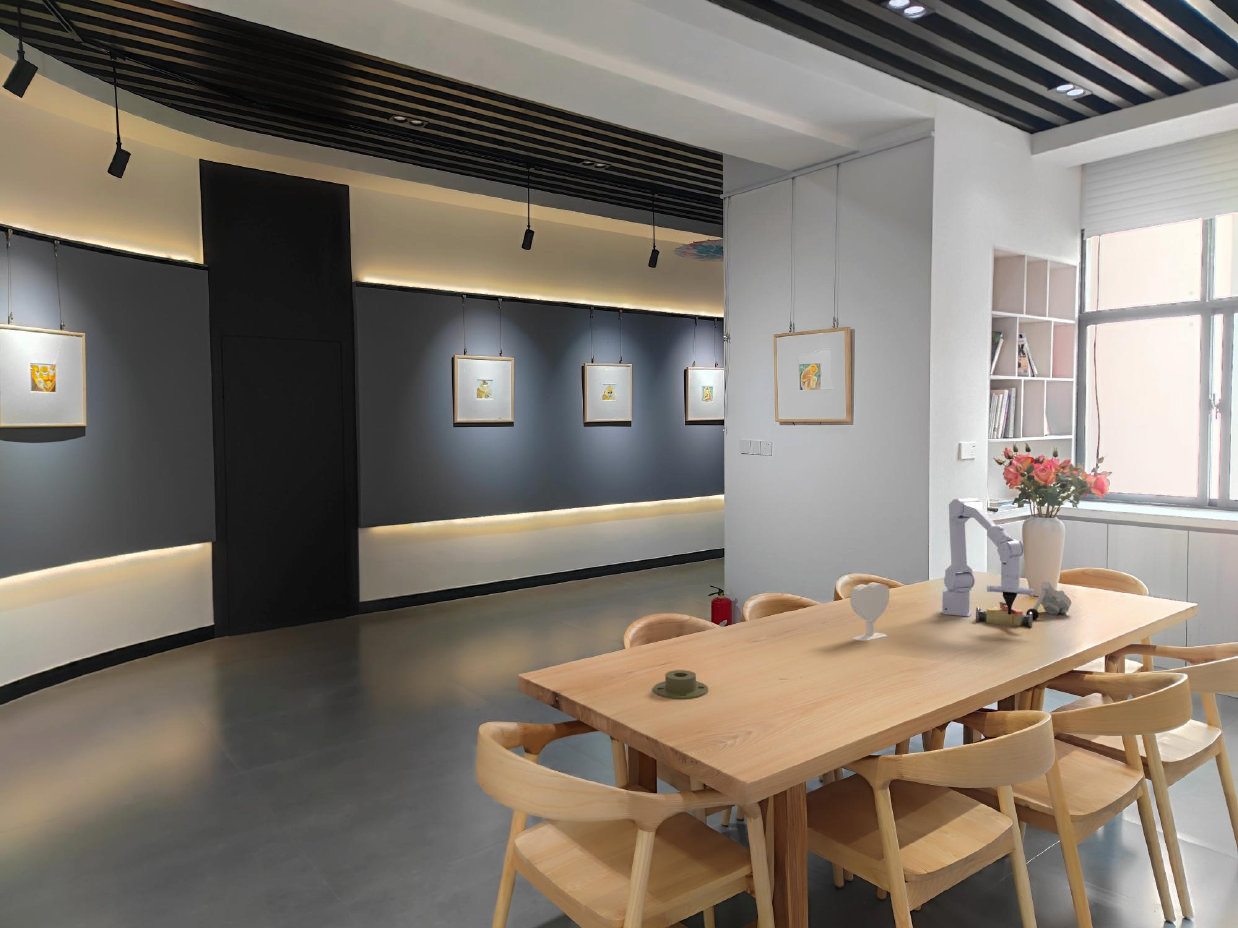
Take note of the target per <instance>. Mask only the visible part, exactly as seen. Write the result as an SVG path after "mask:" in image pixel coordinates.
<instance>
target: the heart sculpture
mask: <svg viewBox="0 0 1238 928" xmlns="http://www.w3.org/2000/svg"><path fill="white" fill-rule="evenodd" d="M889 600H890V587H889V586H888V584H887V585H886V584H883V583H877V582H874V581H873V582H869V583H868V584H862V583H861V584H858V585H856V586H854V587H853V588H851V590H850V593H849V601H850V605H851V608H852V610H853V612H854V613H855V614H856V615H857V616H858V617H860V618H862V619H863V620H864V621H865V622H866V624H865V625H866V627H865V629H866V632H865V634H862V635H857V636H854V637H852V638H853V639H854V640H856V641H859V642H860V641H861V642H866V641H869V640H874V639H879V638H883V637H884V638H885V637H887V636H888V634H885V633H882V632H875V631H874V629H875V627H874V625H875V624H874V623H875V622H876V621H877V620H878V619H879V618H880V617H881V616H882V615H883V613H884V612H885V611H886V608H887V607H888V604H889Z"/></svg>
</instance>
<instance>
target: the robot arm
mask: <svg viewBox="0 0 1238 928" xmlns="http://www.w3.org/2000/svg"><path fill="white" fill-rule="evenodd" d="M948 517H949V518H948V523H949V524H948V526H949V543H950V544H949V548H950V565H949V566H948V567H947V568H946V569H945V570H944V571H945V572H944V573H945V574H944V578H943V583H944V586H945V588H946V589H945V588H944V589H943V590H942V602H941V603H942V605H941V608H942V609H941V611H942V612H941V614H942V615H950V616H951V615H952V616H958V617H959V616H961V617H970V616H971V614H972V612H973V611H972V610H970V605H971V603H970V596H971V595H970V594H971V593H970V592H971V591H972V588H974V586H975V582H976V581H975V576H974V574H973V569H972V567H970V566H969V565H968V564H967V563H968V561H967V560H968V559H967V545H966V544H967V542H966V541H967V540H966V522H968V521H969V519H971V518H972V519H974V520H975V521H977V523H979V525H980V526H981V527H983V528H984V529H985V530H986V531H987V532H986V536H987V537H988V539H990V541H992V543H993V544H994V545H995V546H996V548H997V554H998V556H999V561H1000V562H1001V563H1000V565H1001V571H1000V572H1001V574H1000V576H1001V577H1000V585H986V592H987V593H1001V594H1002V598H1003V599H1004V602H1006V604H1007V607H1008V614H1010V615H1011V612H1012V610H1011V608H1012V607H1013V604H1014V602H1015V600H1016V598H1017V597H1018V595H1025V596H1034V594H1035V593H1034V591H1035V589H1033V588H1027V587H1020V571H1021V570H1020V567H1021V566H1020V565H1021V563H1020V560H1021V559H1020V558H1021V557H1022V556H1023V554H1024V551H1025V548H1024V544H1023V542H1021V540H1018V539H1015V538H1013V537H1012V536H1011V535H1010V534H1009V533H1008V532H1007V531H1006V529H1005V528H1004V526H1002V525H999V524H996V523H995V522H994V521H993V520H992V518H991V517H990V515H988V513H987V512H986V511H985V509H984V504H983V503H982V502H981V500H980V499H978V498H976V497H972V498H971V497H970V498H953V499H952V501H950V502H949V504H948Z"/></svg>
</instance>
